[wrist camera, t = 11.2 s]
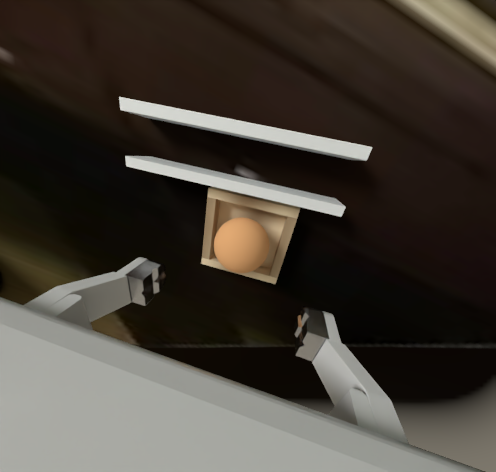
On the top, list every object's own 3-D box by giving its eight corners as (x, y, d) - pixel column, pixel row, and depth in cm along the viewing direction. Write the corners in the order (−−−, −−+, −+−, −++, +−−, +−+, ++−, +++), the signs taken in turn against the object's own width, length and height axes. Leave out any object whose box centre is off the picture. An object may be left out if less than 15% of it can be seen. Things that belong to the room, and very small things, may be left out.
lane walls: (355, 149, 14) (372, 147, 11) (331, 207, 16) (341, 216, 13) (147, 107, 16) (119, 96, 13) (150, 164, 18) (126, 166, 15)
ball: (277, 217, 17) (273, 239, 12) (265, 260, 19) (258, 292, 15) (227, 205, 17) (206, 222, 13) (221, 248, 20) (202, 275, 15)
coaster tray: (298, 204, 16) (300, 209, 15) (275, 274, 20) (275, 284, 18) (215, 185, 17) (208, 188, 16) (207, 255, 21) (201, 263, 19)
